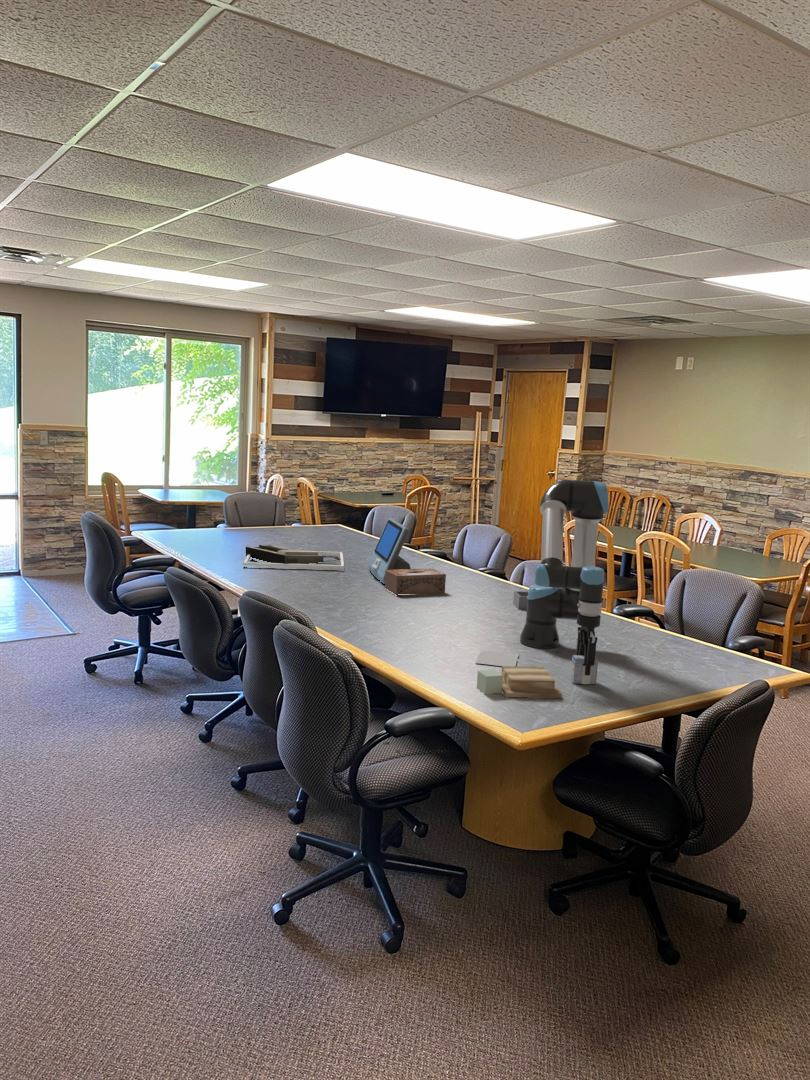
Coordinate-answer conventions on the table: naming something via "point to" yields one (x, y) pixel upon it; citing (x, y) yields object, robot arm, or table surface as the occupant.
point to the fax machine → (284, 555)
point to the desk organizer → (520, 599)
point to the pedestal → (528, 683)
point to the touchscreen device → (389, 550)
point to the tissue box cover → (415, 581)
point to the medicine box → (577, 669)
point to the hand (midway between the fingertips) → (583, 681)
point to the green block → (489, 681)
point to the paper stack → (497, 658)
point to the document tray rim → (300, 564)
